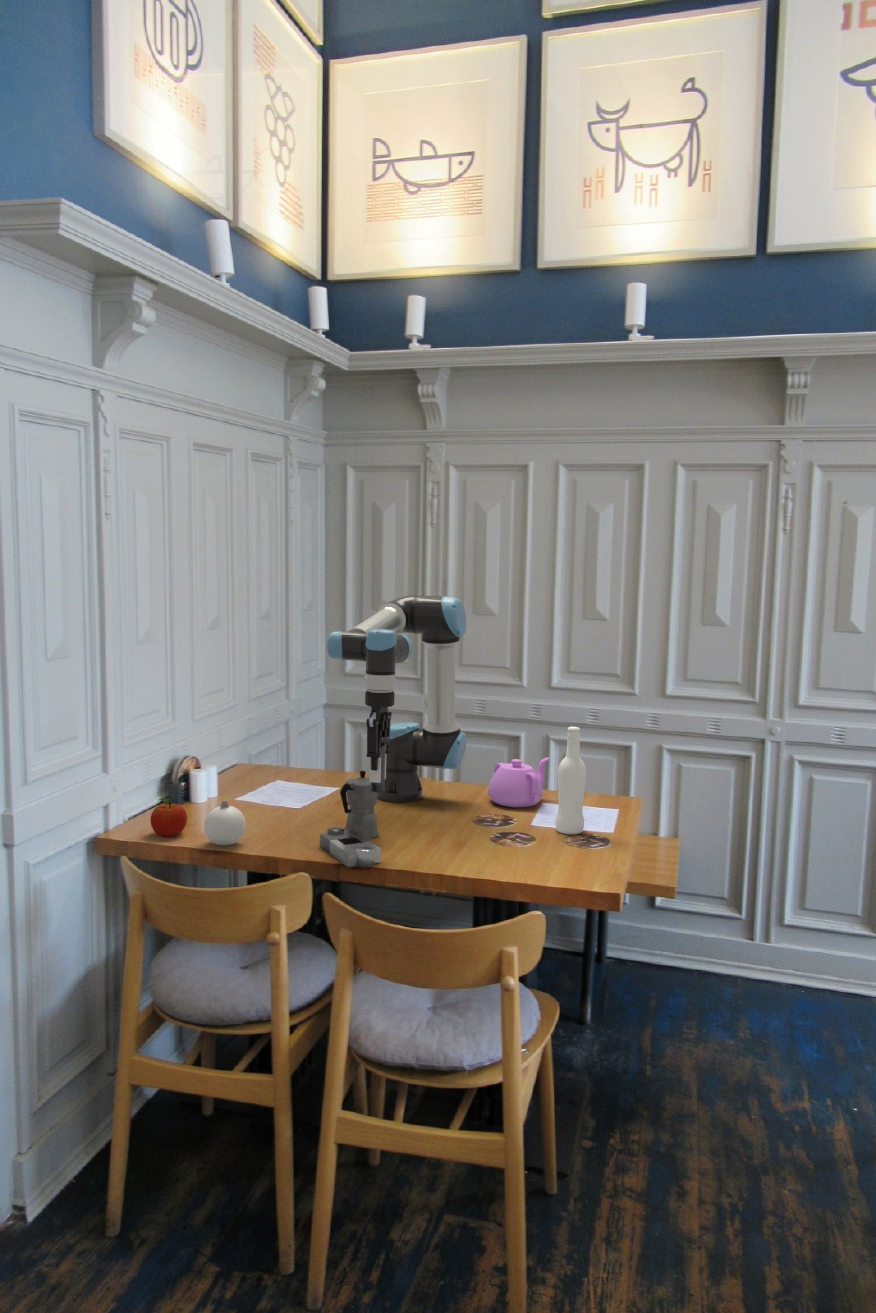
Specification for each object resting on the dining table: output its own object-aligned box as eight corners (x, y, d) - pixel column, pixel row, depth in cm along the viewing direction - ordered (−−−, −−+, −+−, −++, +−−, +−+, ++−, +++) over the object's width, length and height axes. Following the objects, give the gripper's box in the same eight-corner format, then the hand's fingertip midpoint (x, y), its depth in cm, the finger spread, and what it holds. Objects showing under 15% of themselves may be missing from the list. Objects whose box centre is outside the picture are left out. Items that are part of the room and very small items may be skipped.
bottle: (586, 828, 273) (591, 726, 270) (580, 836, 266) (586, 730, 262) (558, 825, 276) (563, 723, 272) (552, 832, 268) (557, 728, 265)
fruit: (173, 842, 250) (173, 805, 249) (143, 837, 253) (143, 800, 252) (194, 832, 259) (194, 796, 258) (165, 827, 262) (165, 792, 261)
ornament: (225, 853, 242) (225, 807, 241) (196, 845, 248) (196, 800, 246) (253, 843, 251) (253, 798, 249) (224, 836, 256) (224, 792, 255)
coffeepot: (363, 826, 269) (364, 763, 267) (389, 832, 264) (391, 769, 262) (327, 838, 256) (328, 773, 254) (353, 846, 251) (355, 779, 249)
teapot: (569, 805, 297) (571, 762, 296) (515, 815, 285) (517, 770, 284) (525, 790, 315) (526, 749, 314) (472, 798, 303) (473, 755, 302)
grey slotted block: (347, 839, 256) (348, 825, 256) (384, 865, 237) (385, 849, 236) (316, 844, 252) (316, 829, 251) (351, 870, 232) (352, 854, 232)
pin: (390, 788, 247) (391, 735, 246) (383, 793, 242) (385, 739, 241) (371, 787, 248) (372, 734, 247) (364, 791, 243) (365, 737, 242)
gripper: (376, 685, 251) (374, 772, 254) (354, 693, 235) (352, 786, 238) (403, 687, 249) (401, 774, 252) (383, 695, 233) (381, 789, 236)
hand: (377, 780), depth 245 cm, fingers closed on pin, 4 cm apart
